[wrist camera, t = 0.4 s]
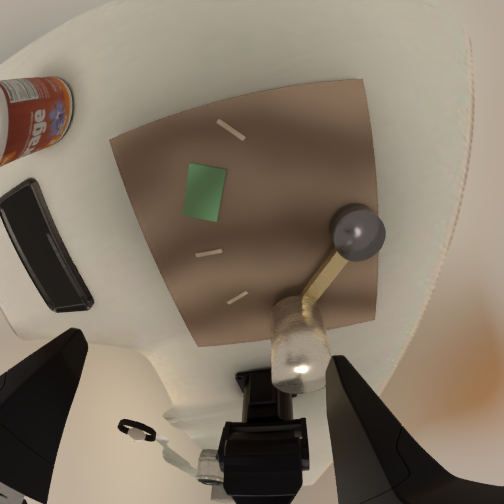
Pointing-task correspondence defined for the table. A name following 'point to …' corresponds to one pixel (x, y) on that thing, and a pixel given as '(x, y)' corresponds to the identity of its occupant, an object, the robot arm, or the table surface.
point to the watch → (137, 430)
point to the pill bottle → (32, 115)
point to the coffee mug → (220, 495)
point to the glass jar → (209, 469)
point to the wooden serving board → (254, 204)
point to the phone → (43, 249)
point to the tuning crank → (308, 310)
